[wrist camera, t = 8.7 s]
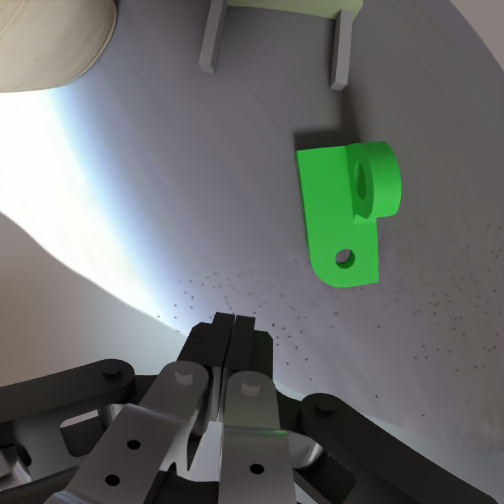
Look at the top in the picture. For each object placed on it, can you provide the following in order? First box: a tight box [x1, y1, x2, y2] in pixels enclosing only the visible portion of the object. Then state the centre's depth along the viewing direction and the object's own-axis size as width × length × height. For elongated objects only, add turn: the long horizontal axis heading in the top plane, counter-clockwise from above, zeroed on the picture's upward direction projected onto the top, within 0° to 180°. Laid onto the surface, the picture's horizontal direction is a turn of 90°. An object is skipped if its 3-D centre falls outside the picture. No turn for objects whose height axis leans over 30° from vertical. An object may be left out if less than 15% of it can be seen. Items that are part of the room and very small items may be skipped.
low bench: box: [198, 0, 363, 91], centre depth 21 cm, size 13×9×4 cm
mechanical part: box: [295, 141, 401, 287], centre depth 23 cm, size 12×6×8 cm, turn 9°
